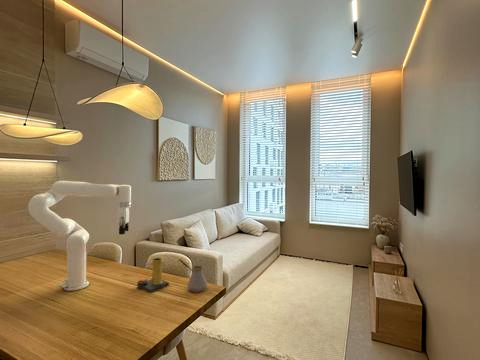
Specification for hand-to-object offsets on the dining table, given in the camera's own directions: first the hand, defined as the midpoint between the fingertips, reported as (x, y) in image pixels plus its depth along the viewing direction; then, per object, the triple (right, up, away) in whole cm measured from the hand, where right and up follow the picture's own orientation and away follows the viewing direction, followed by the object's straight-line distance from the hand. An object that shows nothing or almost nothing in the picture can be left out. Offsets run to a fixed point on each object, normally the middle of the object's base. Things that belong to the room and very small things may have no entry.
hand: (123, 232), depth 162 cm
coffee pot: (+43, -31, -7) cm, 53 cm away
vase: (+22, -29, -6) cm, 37 cm away
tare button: (+14, -27, -8) cm, 32 cm away
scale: (+20, -31, -6) cm, 37 cm away
